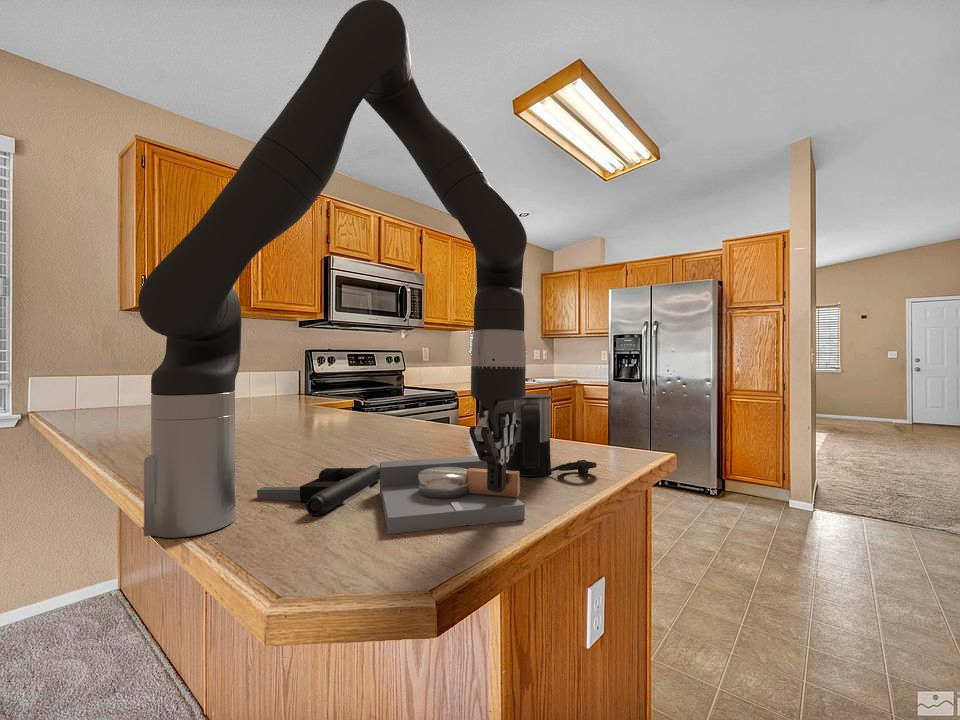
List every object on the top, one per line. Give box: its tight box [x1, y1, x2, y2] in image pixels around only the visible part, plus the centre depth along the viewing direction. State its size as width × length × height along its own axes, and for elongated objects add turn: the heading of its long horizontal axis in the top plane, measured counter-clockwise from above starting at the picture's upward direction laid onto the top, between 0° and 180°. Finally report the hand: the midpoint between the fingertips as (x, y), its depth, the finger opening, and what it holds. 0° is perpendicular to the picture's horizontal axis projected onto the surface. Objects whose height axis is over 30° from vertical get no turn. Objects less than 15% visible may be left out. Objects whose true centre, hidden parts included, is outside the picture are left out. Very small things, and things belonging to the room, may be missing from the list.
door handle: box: [256, 464, 380, 517], centre depth 72 cm, size 3×20×16 cm
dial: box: [418, 467, 521, 498], centre depth 66 cm, size 15×8×3 cm, turn 75°
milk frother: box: [506, 393, 598, 477], centre depth 85 cm, size 14×16×15 cm
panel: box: [379, 455, 526, 535], centre depth 66 cm, size 18×18×5 cm
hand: (496, 490), depth 62 cm, fingers closed
